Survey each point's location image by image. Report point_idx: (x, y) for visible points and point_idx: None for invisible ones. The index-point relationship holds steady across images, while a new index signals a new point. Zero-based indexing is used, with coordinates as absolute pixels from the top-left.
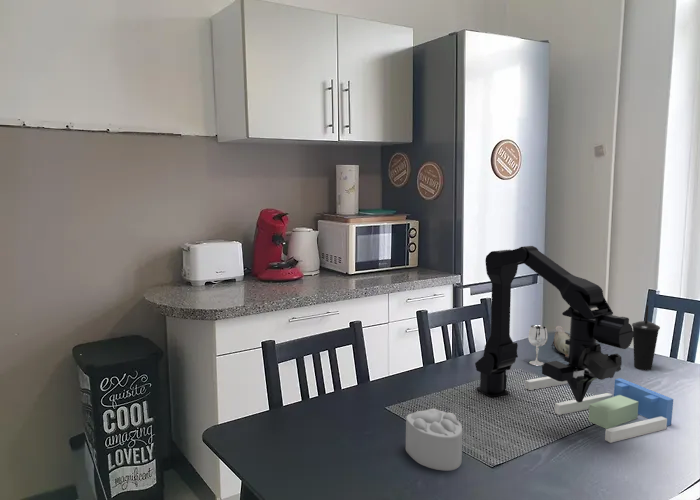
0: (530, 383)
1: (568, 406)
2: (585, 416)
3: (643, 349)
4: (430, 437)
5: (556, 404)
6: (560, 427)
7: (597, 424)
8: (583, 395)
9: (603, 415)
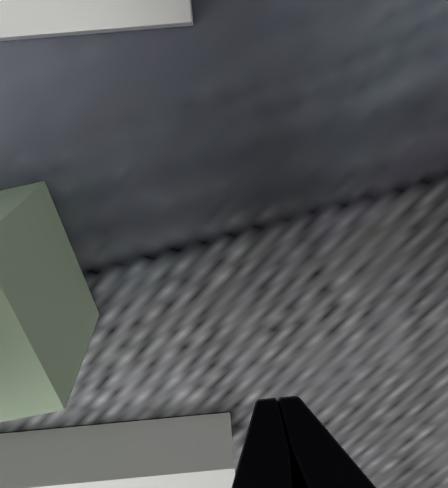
0: None
1: (153, 459)
2: None
3: None
4: None
5: None
6: (350, 291)
7: (73, 256)
8: (268, 468)
9: (22, 260)
